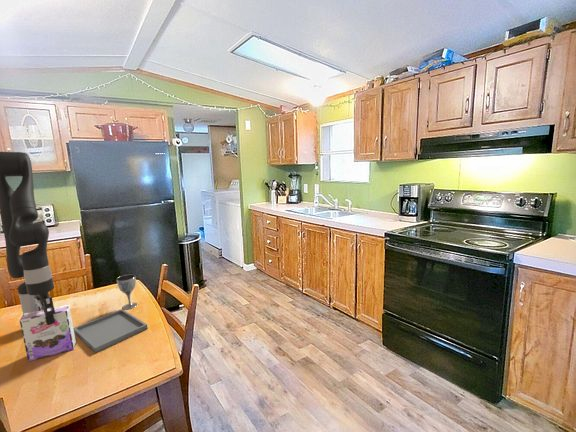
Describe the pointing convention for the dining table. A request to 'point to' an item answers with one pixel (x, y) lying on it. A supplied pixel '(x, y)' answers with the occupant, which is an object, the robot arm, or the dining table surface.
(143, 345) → the dining table surface
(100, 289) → the dining table surface
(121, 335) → the tray
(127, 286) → the wine glass
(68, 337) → the candy box
